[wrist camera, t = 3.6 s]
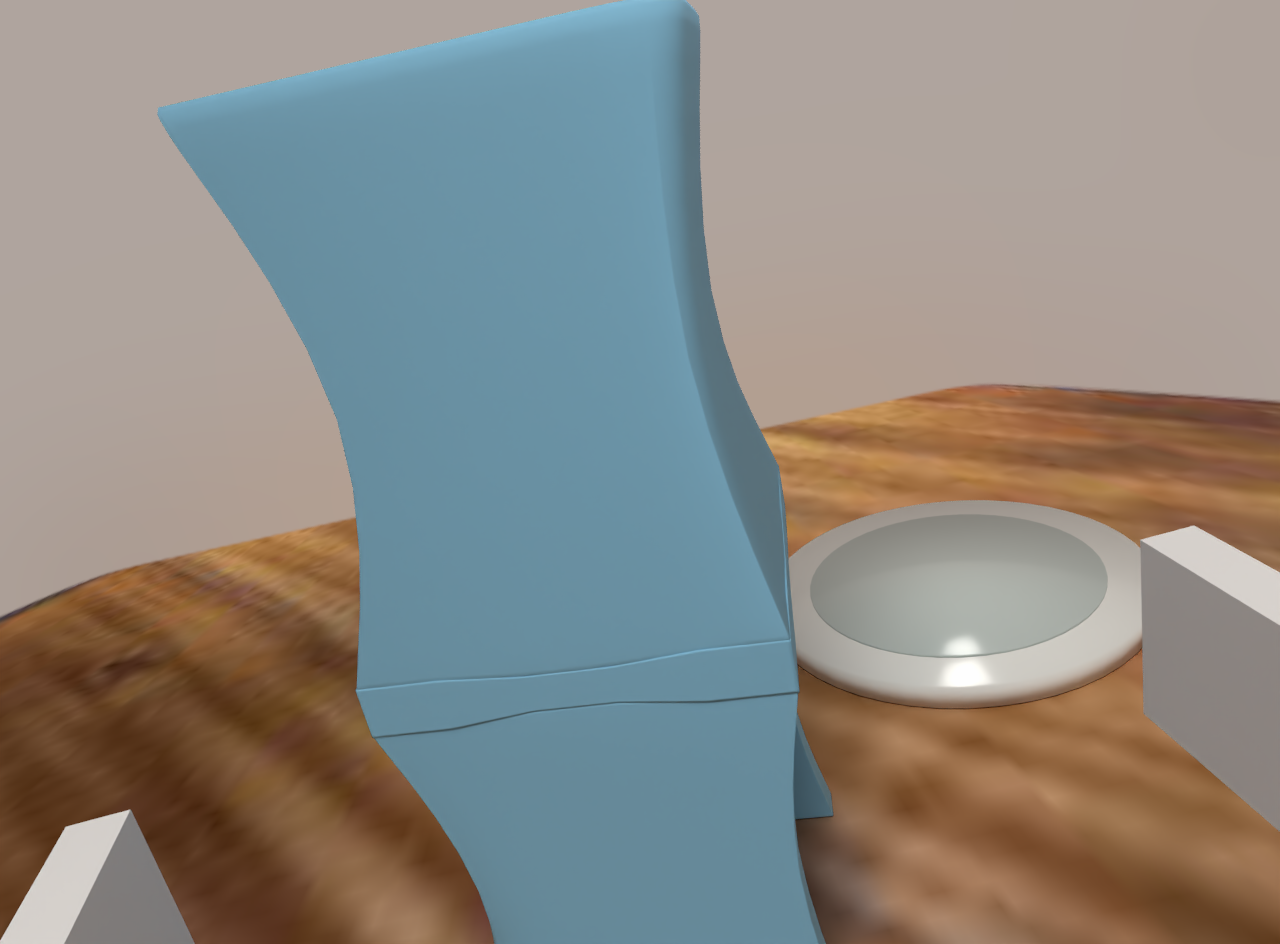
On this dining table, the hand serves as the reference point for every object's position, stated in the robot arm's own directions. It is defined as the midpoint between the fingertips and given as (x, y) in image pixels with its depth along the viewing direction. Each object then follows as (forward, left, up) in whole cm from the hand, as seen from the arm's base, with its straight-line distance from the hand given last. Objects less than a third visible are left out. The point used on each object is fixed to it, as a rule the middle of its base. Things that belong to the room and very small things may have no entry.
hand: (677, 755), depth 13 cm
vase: (-7, +4, -11) cm, 14 cm away
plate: (-10, +20, -11) cm, 25 cm away
